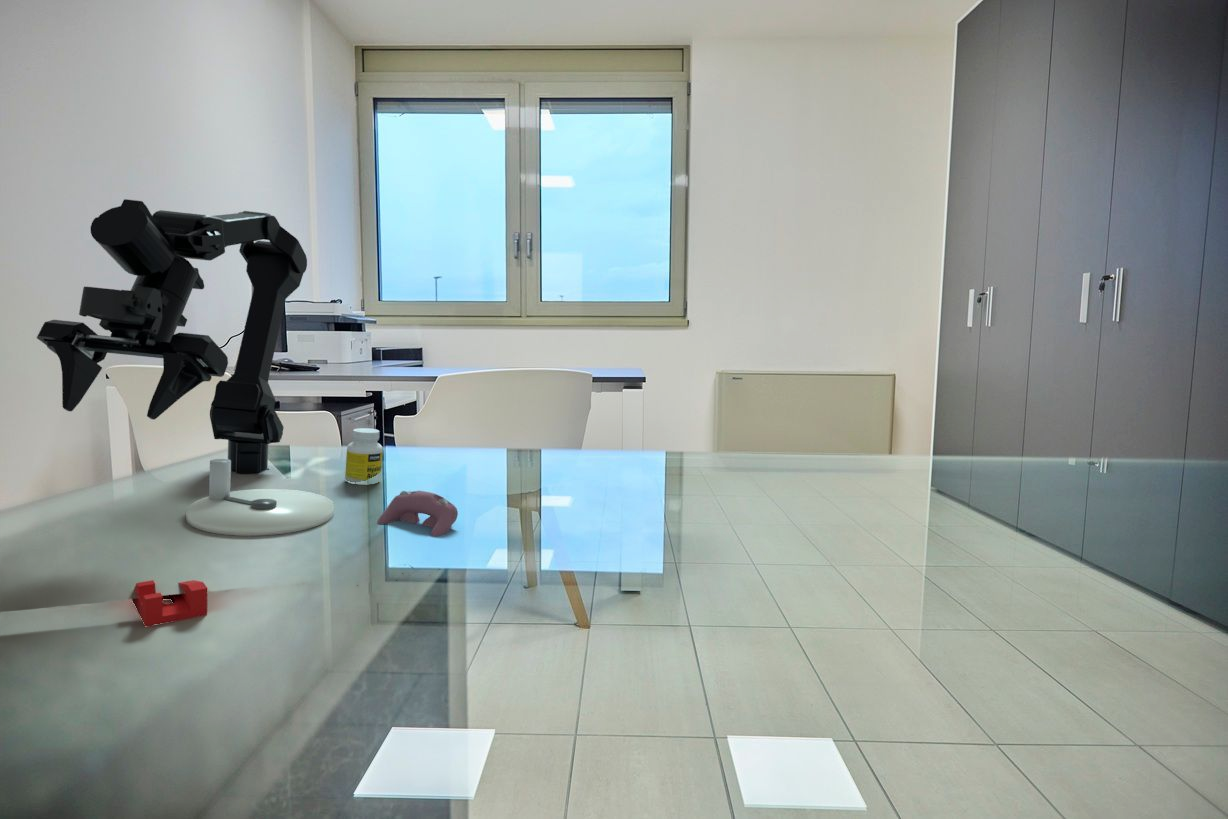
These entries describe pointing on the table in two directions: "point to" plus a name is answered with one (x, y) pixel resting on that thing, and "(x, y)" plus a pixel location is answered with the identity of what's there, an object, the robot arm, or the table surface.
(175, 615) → the bracket
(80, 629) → the table surface
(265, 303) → the robot arm
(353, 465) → the supplement bottle
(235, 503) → the dial
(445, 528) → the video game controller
